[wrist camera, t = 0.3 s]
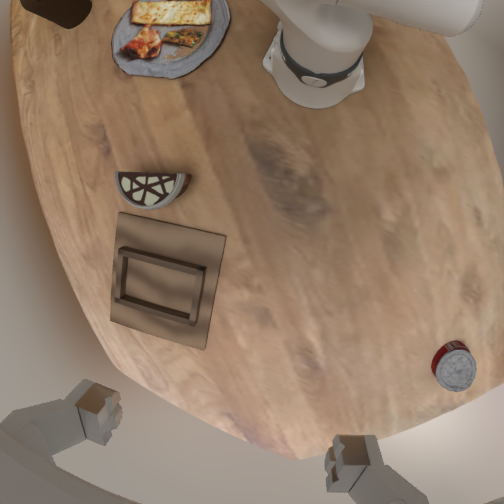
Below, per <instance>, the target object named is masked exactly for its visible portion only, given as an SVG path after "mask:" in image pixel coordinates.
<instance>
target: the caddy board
mask: <svg viewBox="0 0 504 504" xmlns="http://www.w3.org/2000/svg"><path fill="white" fill-rule="evenodd" d="M226 237H227V236H224V235H220V234H216V233H211V232H207V231H203V230H198V229H194V228H189V227H185V226H181V225H176V224H172V223H167V222H163V221H158V220H154V219H150V218H145V217H141V216H136V215H132V214H127V213H123V212H119V213H118V220H117V228H116V237H115V247H114V259H113V272H112V288H111V314H110V321H112V322H115V323H118V324H121V325H124V326H126V327H129V328H132V329H135V330H138V331H141V332H144V333H147V334H150V335H153V336H156V337H160V338H163V339H166V340H169V341H173V342H176V343H179V344H183V345H186V346H190V347H193V348H197V349H200V350H205V348H206V342H207V336H208V331H209V325H210V320H211V314H212V309H213V304H214V298H215V293H216V288H217V282H218V277H219V272H220V267H221V262H222V257H223V252H224V247H225V242H226Z"/></svg>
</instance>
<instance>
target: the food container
mask: <svg viewBox="0 0 504 504" xmlns="http://www.w3.org/2000/svg"><path fill="white" fill-rule="evenodd" d="M190 179H191V175H190V174H182V173H177V174H169V173H148V172H146V173H143V172H120V171H115V182H116V186H117V188H118V191H119V192H120V194H121V195H122V197H123V198H124V199H125V200H126V201H127V202H128V203H130V204H131V205H133V206H135V207H138V208H141V209H146V210H154V209H159V208H161V207H164V206H166V205H167V204H169V203H170V202H171V201H173V199H174V198H177V197H178V196H180V195H181V194H182V193H183V192H184V191H185V190H186V188H187V187H188V185H189V182H190Z"/></svg>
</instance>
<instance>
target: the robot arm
mask: <svg viewBox="0 0 504 504" xmlns="http://www.w3.org/2000/svg"><path fill="white" fill-rule="evenodd" d="M259 1H260V2H262V3H263V4H264V5H266V6H267V7H268V8H269V9H271V10H272V11H273V12H274V13H275V14H276V15H277V16H278V17H279V18H280V21H279V23H278V27H277V29H278V30H279V31H278V32H277V34H276V36H275V37H274V39H273V42H272V44H271V46H270V48H269V50H268V52H267V54H266V55H265V57H264V59H263V67H264V68H265V70H266V71H268V72H269V73H270V74H271V75H272V76H273V77H274V79H275V81H276V83H277V85H278V87H279V89H280V90H281V91H282V93H283V94H284V95H285V96H286V97H287V98H289V99H290V100H291V101H293V102H295V103H296V104H299V105H301V106H304V107H308V108H315V109H320V108H327V107H331V106H334V105H336V104H338V103H339V102H341V101H342V100H343V99H344V98H345V97H347V96H348V95H349V94H352V93H356V92H359V91H361V90H363V88H364V86H365V79H364V65H363V50H364V48H365V47H366V45H367V43H368V42H369V40H370V38H371V35H372V31H373V22H372V18H371V15H370V14H372V15H375V16H378V17H381V18H384V19H387V20H389V21H392V22H395V23H398V24H400V25H403V26H406V27H411V28H415V29H419V30H423V31H427V32H431V33H435V34H439V35H443V36H447V37H453V36H456V35H459V34H461V33H463V32H465V31H467V30H468V29H469V28H471V27H472V26H473V25H474V24H475V23H476V21H477V20H478V18H479V17H480V15H481V13H482V9H483V6H484V0H259ZM270 57H271V59H269V58H270ZM119 401H120V393H119V392H118V391H115V390H113V389H110V388H107V387H105V386H102V385H100V384H98V383H95V382H92V381H90V380H87V379H84V380H82V381H81V382H80V383H79V384H78V385H77V386H76V387H75V388H74V389H73V390H72V392H71V393H70V394H69V395H68V396H67V397H66V398H65V399H64V400H62V399H58V400H55V401H51V402H47V403H43V404H39V405H35V406H31V407H27V408H23V409H18V410H14V411H13V412H12V413H10V414H9V415H8V416H7V417H6V418H5V419H4V420H3V421H2V422H1V423H0V504H140V503H137V502H135V501H132V500H129V499H127V498H124V497H121V496H119V495H116V494H114V493H111V492H109V491H107V490H104V489H102V488H100V487H98V486H95V485H93V484H91V483H89V482H87V481H85V480H82V479H80V478H79V477H77V476H74V475H73V474H71V473H69V472H67V471H65V470H63V469H61V468H60V467H58V466H56V464H55V462H54V460H53V457H52V455H54V454H56V453H59V452H61V451H63V450H65V449H67V448H70V447H72V446H74V445H76V444H78V443H80V442H82V441H84V440H86V439H88V440H91V441H93V442H96V443H98V444H101V445H103V446H105V445H106V444H107V442H108V441H109V439H110V438H111V436H112V433H111V430H113V429H116V428H117V427H118V425H119V424H120V421H121V418H122V407H121V406H120V405H119V403H118V402H119ZM325 471H326V472H327V473H328V476H327V478H326V487H327V492H340V493H341V492H342V493H343V492H344V493H348V494H349V495H350V496H351V498H352V499H353V500H354V501H355V502H356V504H429V502H428V499H427V496H426V495H425V494H423V493H422V492H420V491H419V490H418V489H417V488H416V487H414V486H413V485H412V484H410V483H409V482H408V481H407V480H406V479H404V478H403V477H402V476H401V475H399V474H398V473H397V472H396V471H394V470H393V469H392V468H391V467H390V466H388V465H384V462H383V459H382V456H381V452H380V449H379V446H378V442H377V439H376V436H375V435H336V436H335V437H334V439H333V446H332V447H330V448H329V449H328V451H327V454H326V458H325ZM485 504H504V497H501V498H498V499H495V500H493V501H490V502H488V503H485Z"/></svg>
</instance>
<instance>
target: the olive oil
mask: <svg viewBox="0 0 504 504" xmlns="http://www.w3.org/2000/svg"><path fill="white" fill-rule="evenodd" d="M20 2H21V4H22V6H23V7H24V8H25V9H26V10H27V11H30V12H32V13H34V14H37V15H39V16H41V17H44V18H46V19H48V20H50V21H52V22H54V23H56V24H58V25H60V26H62V27H64V28H67V29H70V28H73V27H75V26H77V25H78V24H80V23H81V22H82V21H83V20H84V19H85V18H86V17H87V15H88V14H89V12H90V10H91V6H92V4H91V1H90V0H20Z"/></svg>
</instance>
